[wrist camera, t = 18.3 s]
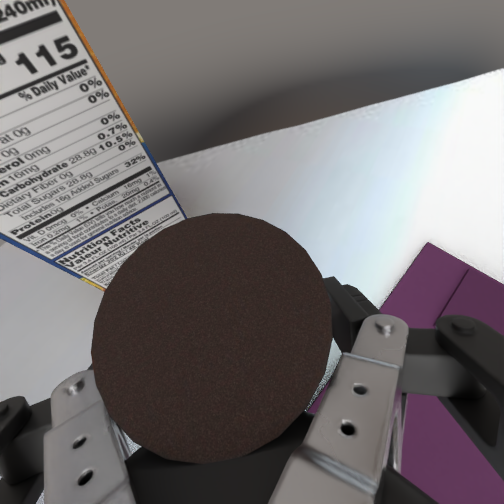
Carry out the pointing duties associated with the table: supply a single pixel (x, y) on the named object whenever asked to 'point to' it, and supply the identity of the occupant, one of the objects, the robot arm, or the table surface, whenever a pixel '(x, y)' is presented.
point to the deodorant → (212, 338)
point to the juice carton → (71, 150)
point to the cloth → (429, 407)
